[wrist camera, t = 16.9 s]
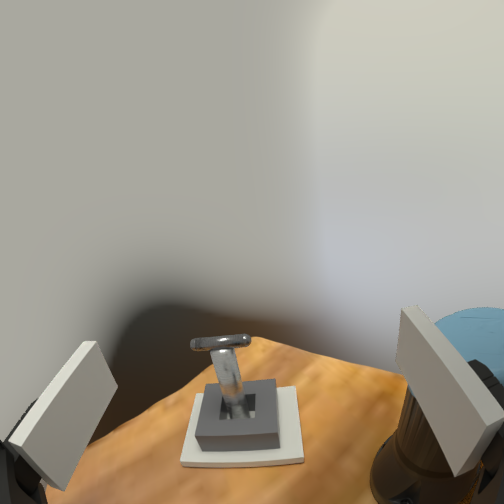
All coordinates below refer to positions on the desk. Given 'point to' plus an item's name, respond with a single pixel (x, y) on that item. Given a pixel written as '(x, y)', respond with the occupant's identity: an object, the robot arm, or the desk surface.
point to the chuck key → (227, 370)
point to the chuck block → (244, 429)
